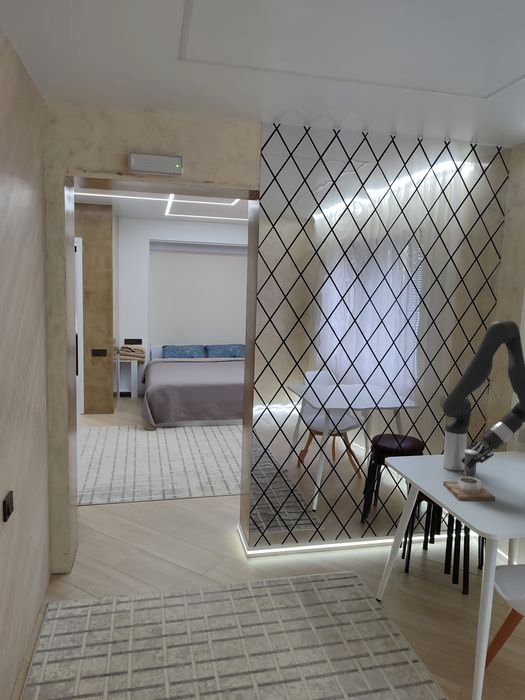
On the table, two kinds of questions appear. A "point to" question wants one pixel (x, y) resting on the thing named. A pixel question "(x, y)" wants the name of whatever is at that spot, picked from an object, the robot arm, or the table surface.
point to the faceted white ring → (468, 484)
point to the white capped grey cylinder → (468, 456)
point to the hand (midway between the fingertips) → (465, 464)
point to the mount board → (461, 495)
